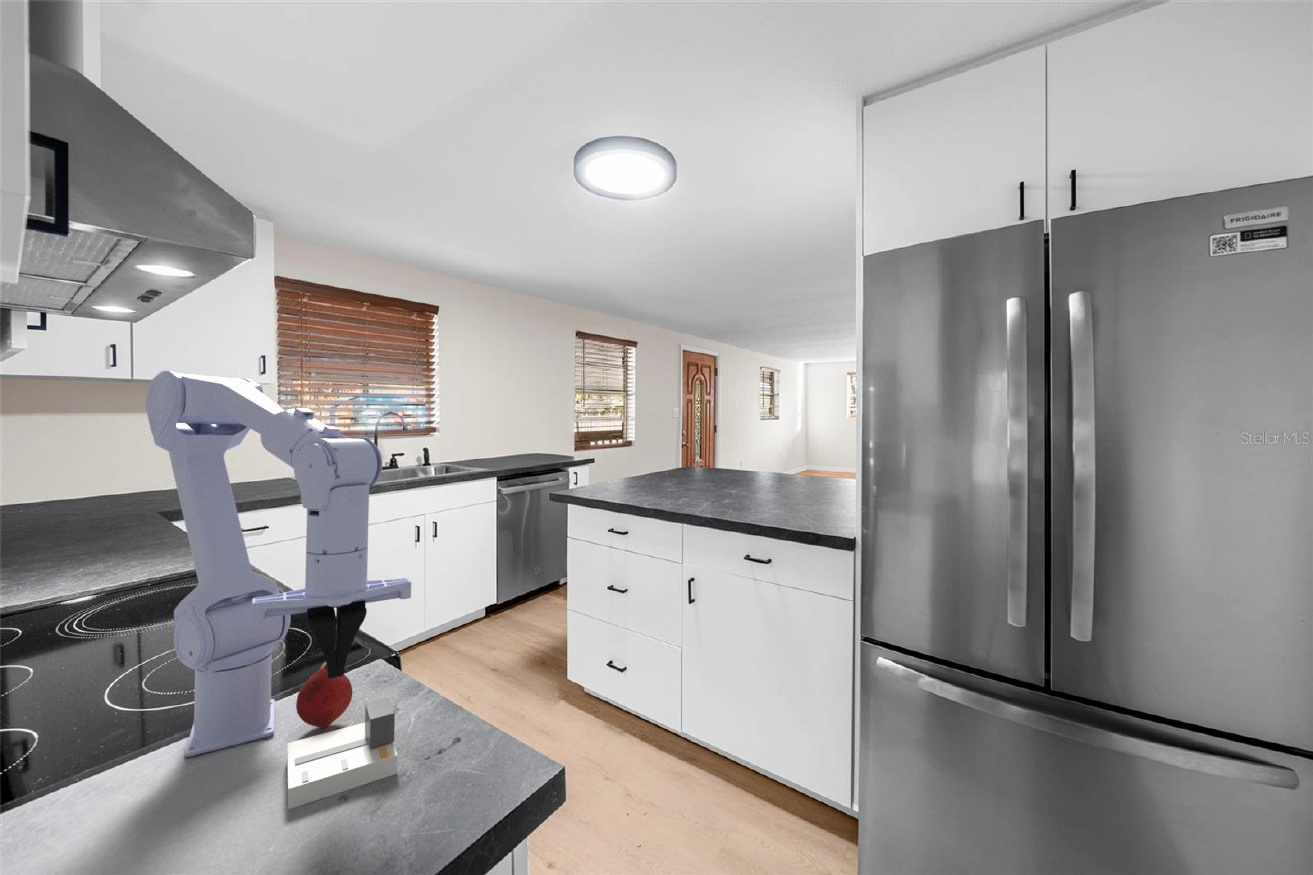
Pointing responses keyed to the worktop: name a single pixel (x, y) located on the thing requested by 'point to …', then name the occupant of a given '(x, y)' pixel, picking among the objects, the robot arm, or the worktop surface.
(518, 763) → the worktop surface
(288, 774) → the console
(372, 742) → the fader knob
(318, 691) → the onion
